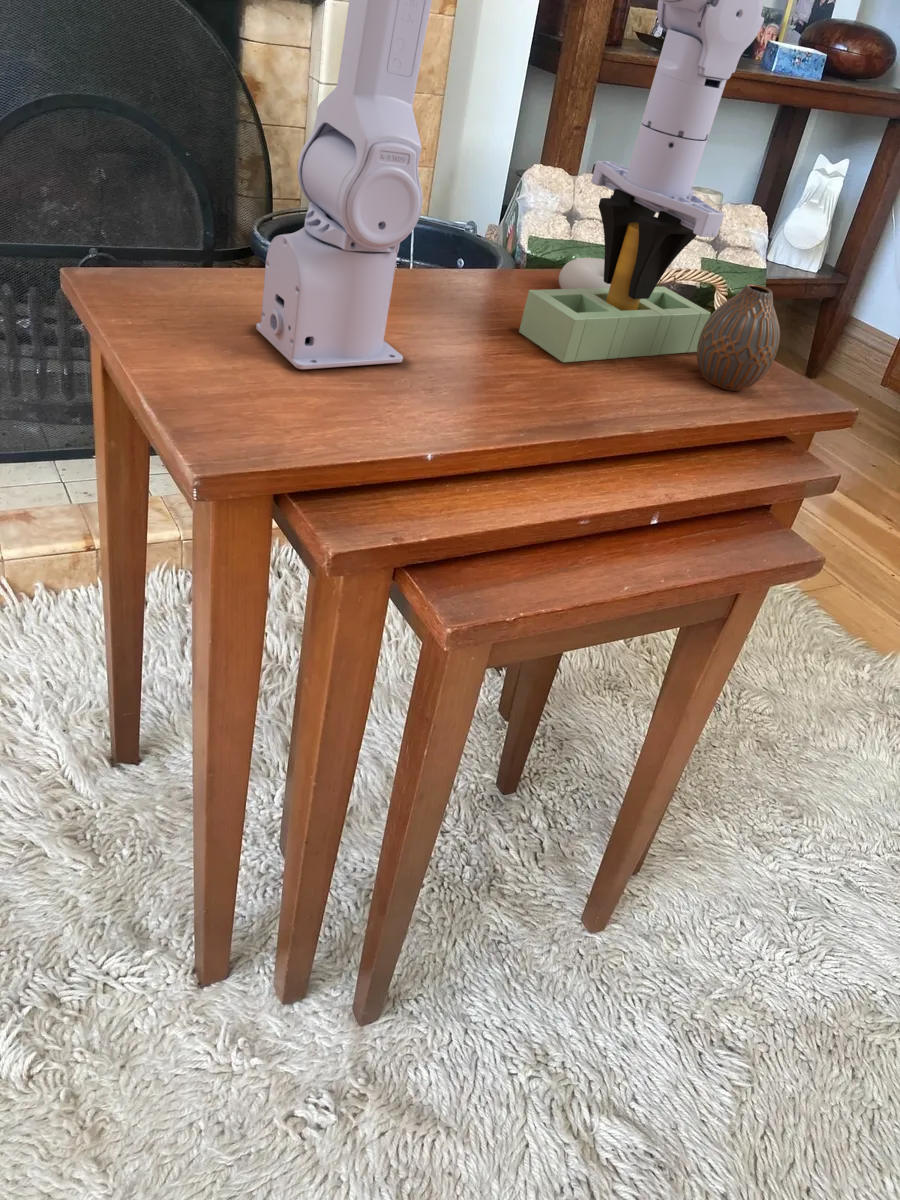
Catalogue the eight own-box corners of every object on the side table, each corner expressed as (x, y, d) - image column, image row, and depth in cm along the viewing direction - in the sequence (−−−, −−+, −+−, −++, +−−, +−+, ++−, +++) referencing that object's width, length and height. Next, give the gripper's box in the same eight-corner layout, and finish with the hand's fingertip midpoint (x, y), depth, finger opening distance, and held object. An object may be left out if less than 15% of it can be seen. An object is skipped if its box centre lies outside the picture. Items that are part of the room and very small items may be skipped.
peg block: (562, 362, 85) (574, 319, 83) (518, 332, 89) (528, 289, 87) (697, 352, 94) (711, 312, 92) (651, 324, 99) (664, 286, 96)
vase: (673, 365, 90) (705, 271, 85) (731, 366, 93) (765, 275, 88) (715, 398, 85) (752, 302, 80) (775, 398, 88) (814, 305, 83)
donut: (650, 329, 98) (644, 296, 106) (661, 296, 96) (654, 265, 104) (553, 307, 97) (555, 276, 105) (562, 274, 95) (563, 244, 103)
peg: (617, 322, 89) (643, 233, 84) (596, 309, 90) (621, 222, 86) (640, 320, 90) (668, 234, 86) (619, 308, 92) (645, 222, 87)
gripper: (768, 159, 79) (710, 319, 87) (650, 112, 88) (607, 261, 95) (710, 154, 75) (655, 322, 83) (592, 105, 84) (553, 261, 92)
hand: (626, 290), depth 89 cm, fingers closed on peg, 3 cm apart
